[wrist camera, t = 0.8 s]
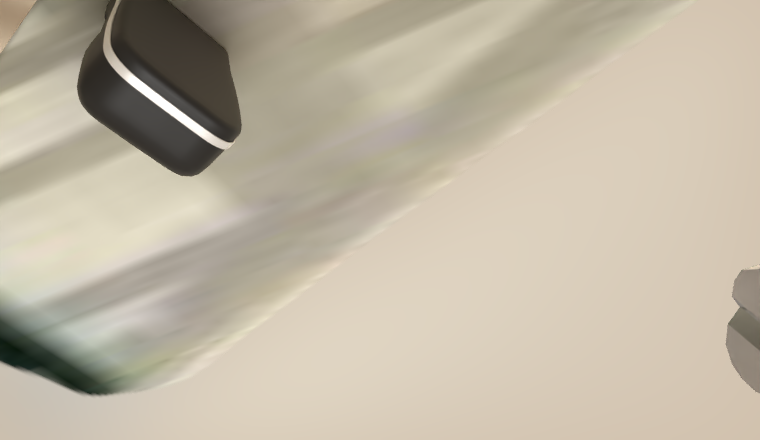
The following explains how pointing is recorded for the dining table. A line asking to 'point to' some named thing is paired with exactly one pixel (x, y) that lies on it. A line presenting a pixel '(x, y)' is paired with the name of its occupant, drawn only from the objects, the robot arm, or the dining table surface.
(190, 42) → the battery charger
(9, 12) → the dock
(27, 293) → the dining table surface
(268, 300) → the dining table surface
